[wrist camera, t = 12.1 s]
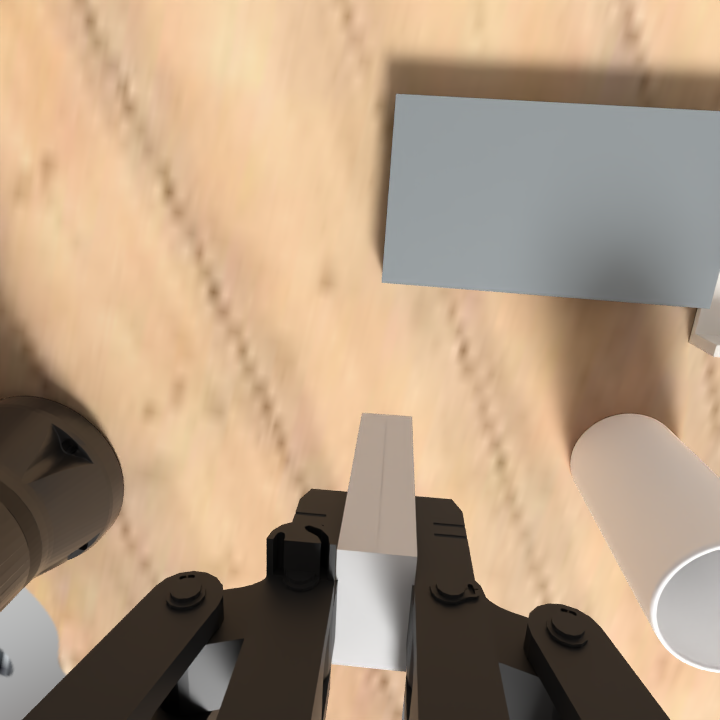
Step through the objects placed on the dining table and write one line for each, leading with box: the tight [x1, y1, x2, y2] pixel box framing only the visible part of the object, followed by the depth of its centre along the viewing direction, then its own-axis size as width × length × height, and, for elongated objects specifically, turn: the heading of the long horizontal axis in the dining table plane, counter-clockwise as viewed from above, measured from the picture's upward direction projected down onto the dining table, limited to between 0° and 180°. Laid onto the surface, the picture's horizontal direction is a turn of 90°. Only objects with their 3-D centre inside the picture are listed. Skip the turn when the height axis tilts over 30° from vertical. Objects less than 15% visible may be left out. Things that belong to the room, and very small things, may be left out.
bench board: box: [382, 94, 720, 309], centre depth 37 cm, size 22×12×2 cm, turn 86°
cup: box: [570, 414, 720, 673], centre depth 35 cm, size 8×8×16 cm
